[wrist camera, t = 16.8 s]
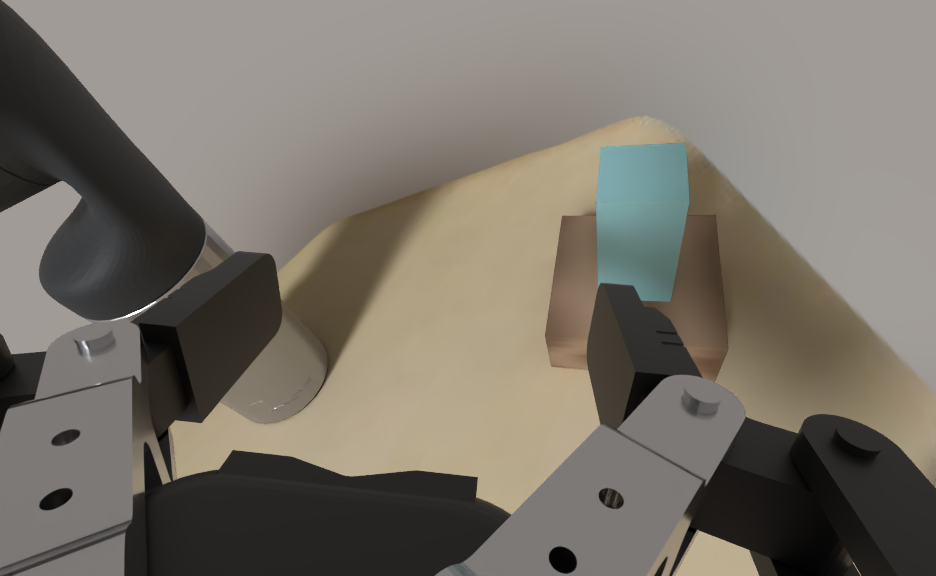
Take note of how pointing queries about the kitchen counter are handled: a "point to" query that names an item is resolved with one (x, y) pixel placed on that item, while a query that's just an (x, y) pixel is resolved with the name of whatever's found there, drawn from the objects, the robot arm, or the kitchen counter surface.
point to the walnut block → (689, 309)
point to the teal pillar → (641, 216)
